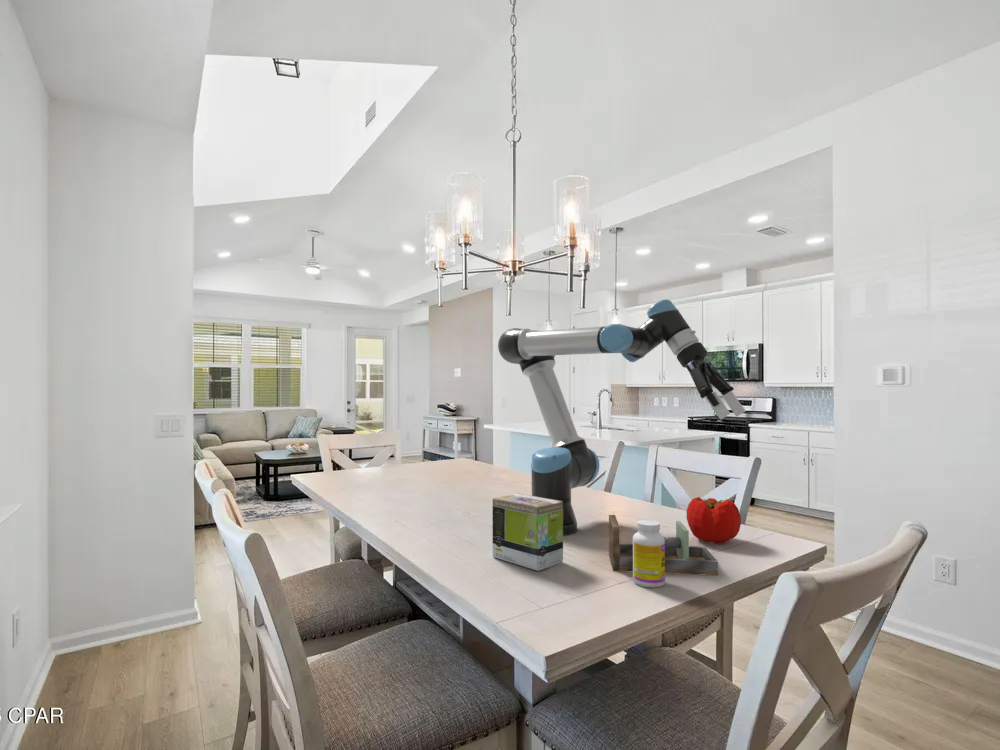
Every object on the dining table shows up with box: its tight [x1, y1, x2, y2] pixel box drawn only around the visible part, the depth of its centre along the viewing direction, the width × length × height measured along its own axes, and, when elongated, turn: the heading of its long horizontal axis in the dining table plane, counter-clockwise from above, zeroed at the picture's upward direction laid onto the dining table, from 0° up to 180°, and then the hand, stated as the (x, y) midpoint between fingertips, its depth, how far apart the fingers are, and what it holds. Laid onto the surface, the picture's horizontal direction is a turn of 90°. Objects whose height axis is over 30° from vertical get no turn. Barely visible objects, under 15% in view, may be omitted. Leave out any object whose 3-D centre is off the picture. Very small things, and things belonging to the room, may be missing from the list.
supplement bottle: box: [632, 519, 666, 589], centre depth 111 cm, size 7×7×13 cm
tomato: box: [686, 496, 742, 545], centre depth 142 cm, size 13×14×12 cm
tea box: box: [492, 493, 564, 572], centre depth 126 cm, size 15×10×15 cm, turn 45°
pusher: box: [663, 520, 690, 559], centre depth 122 cm, size 5×9×8 cm, turn 173°
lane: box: [608, 514, 719, 576], centre depth 123 cm, size 23×11×10 cm, turn 83°
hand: (733, 415), depth 134 cm, fingers open, 13 cm apart
